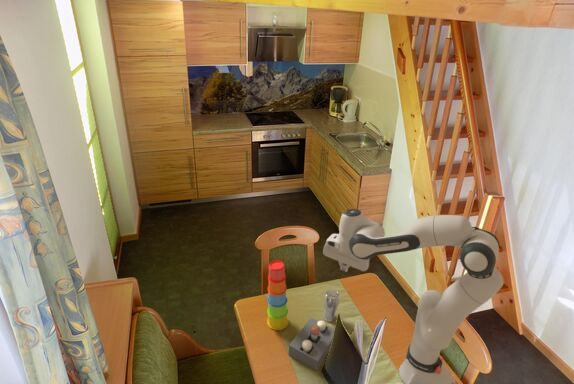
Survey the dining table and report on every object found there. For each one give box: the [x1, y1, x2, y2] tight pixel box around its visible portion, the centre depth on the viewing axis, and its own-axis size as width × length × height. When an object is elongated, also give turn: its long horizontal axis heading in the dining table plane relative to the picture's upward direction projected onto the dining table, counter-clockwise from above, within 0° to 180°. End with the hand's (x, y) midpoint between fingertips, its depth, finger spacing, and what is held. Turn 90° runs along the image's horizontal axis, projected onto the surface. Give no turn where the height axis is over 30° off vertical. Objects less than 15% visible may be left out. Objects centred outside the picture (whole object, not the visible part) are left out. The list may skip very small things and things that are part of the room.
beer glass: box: [322, 289, 340, 323], centre depth 184 cm, size 7×7×15 cm
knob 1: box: [302, 340, 312, 354], centre depth 164 cm, size 4×4×6 cm
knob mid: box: [310, 325, 320, 341], centre depth 167 cm, size 4×4×6 cm
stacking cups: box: [266, 260, 290, 331], centre depth 175 cm, size 10×10×35 cm
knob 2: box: [317, 320, 327, 334], centre depth 174 cm, size 4×4×6 cm
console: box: [288, 317, 336, 371], centre depth 170 cm, size 14×19×6 cm
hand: (343, 270), depth 167 cm, fingers closed
